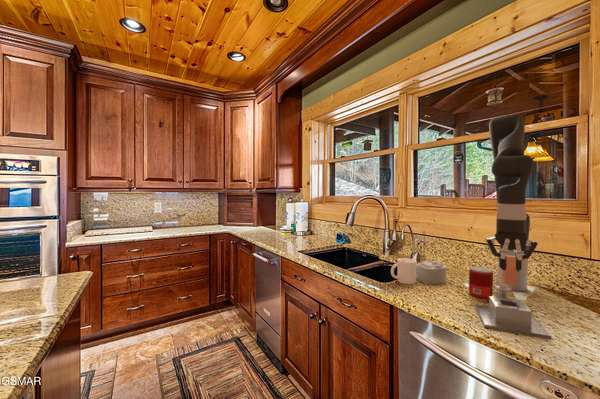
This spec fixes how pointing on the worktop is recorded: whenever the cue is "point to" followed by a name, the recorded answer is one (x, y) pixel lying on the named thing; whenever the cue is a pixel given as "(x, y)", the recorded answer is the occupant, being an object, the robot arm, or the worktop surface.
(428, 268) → the lumpy-topped squat cylinder
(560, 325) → the worktop surface
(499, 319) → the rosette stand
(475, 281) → the canned food
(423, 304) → the worktop surface
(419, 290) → the worktop surface
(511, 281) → the stepped block
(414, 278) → the mug
